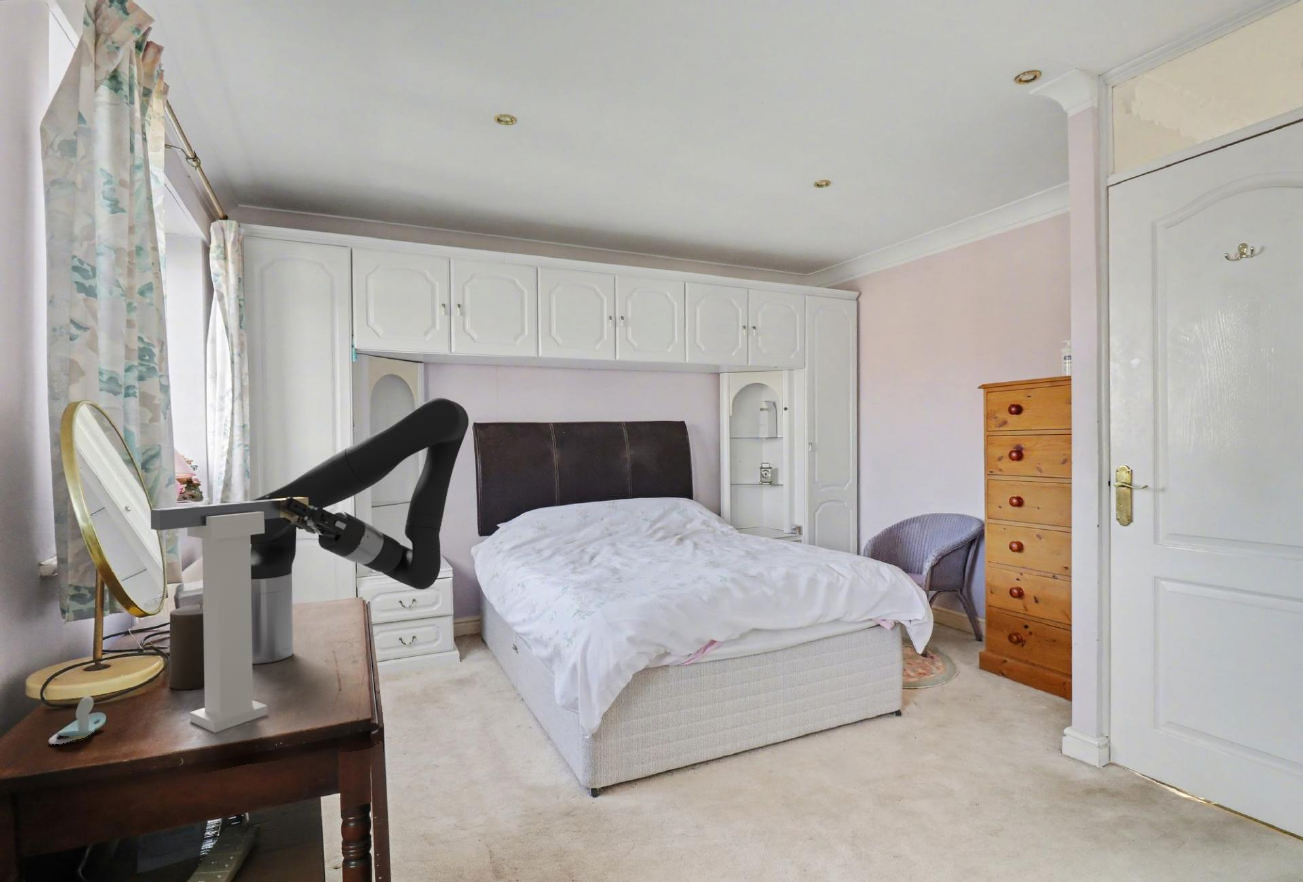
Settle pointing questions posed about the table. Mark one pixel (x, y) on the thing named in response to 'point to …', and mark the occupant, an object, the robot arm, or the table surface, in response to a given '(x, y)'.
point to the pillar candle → (187, 648)
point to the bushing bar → (216, 512)
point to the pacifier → (81, 723)
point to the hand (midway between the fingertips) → (275, 501)
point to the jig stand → (227, 620)
